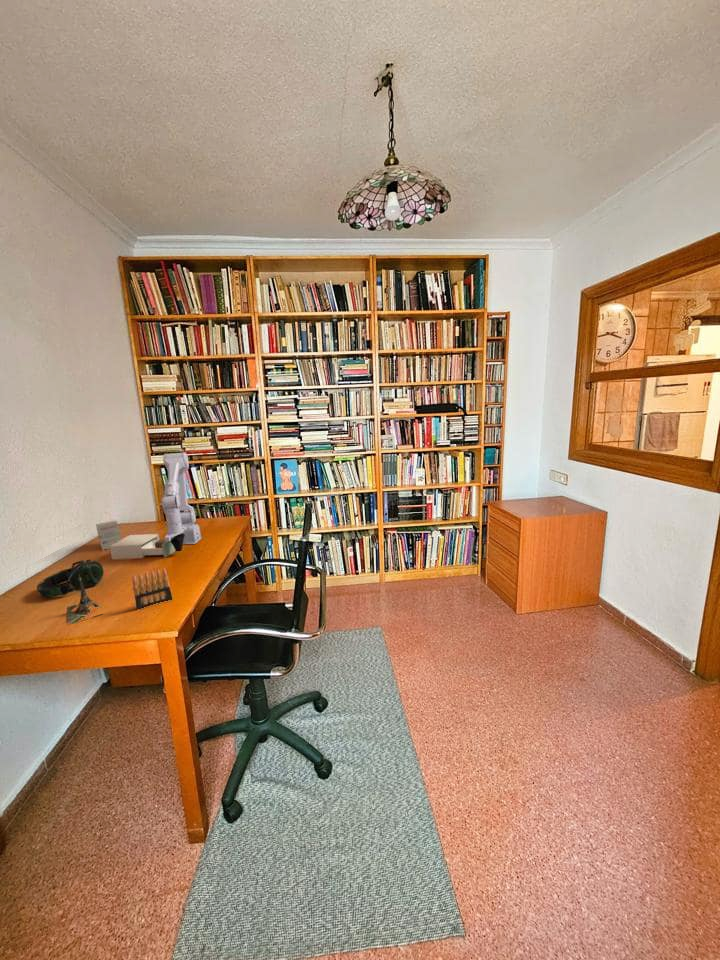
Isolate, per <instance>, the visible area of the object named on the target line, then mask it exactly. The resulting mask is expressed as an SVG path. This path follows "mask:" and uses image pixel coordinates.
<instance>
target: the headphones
mask: <svg viewBox="0 0 720 960" xmlns="http://www.w3.org/2000/svg"><path fill="white" fill-rule="evenodd" d="M104 572H105V571H104V569H103V565H102V564H101V563H100V562H99V561H97V560H91V559H87V560H86V561H84V560H79V561H75V562H73V563H72V566H71V567H69V568H67V569H66V568H65V569H62V570H60V571H58V572H55V573H53V574H51V575H49V576H48V577H45V578H44V579H43V580H41V581H40V582H39V583H38V584H37V586H36V590H37V592H38V594H39V596H40V597H42V598H45V599H50V598H56V597H61V596H65V595H67V594H69V593H72V592H81V589H80V582H79V576H80V577H81V578H82V579H81V580H82V583H83V586H84V589H85V590H87V589H88V587H89V588H92V586H93V587H94V585H98V584H99V582H101V580H103V579H102V578H103V577H104ZM75 588H77V589H78V590H75ZM86 588H87V589H86Z"/></svg>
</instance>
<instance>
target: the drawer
mask: <svg viewBox="0 0 720 960" xmlns="http://www.w3.org/2000/svg"><path fill="white" fill-rule="evenodd" d="M157 541H158V540H151V541H150V542H148V543H146V544H145V545H143V546H142V551H143V555H147V556H163V558H168V557H169V556H170V555H171V554H173V553H174V552H177V551H176V550H175V548H174V546H173V544H172V543H171V542H170V541H166V542H164V543H163V544H162V548H155V542H157Z"/></svg>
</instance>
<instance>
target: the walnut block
mask: <svg viewBox="0 0 720 960" xmlns="http://www.w3.org/2000/svg"><path fill="white" fill-rule="evenodd" d="M164 542H166V541H165V539H159V540H158V541H157V542H155V548H162V544H163V543H164Z"/></svg>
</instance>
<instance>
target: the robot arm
mask: <svg viewBox="0 0 720 960" xmlns="http://www.w3.org/2000/svg"><path fill="white" fill-rule="evenodd" d="M162 460H163V464H164V467H165V468H166V470H167V481H166V482H165V484H164V494H163V497H162V498H161V508H162V509H163V513H164V515H165V520H166V525H167V526H166V527H167V531H166V532H165V534H166V535H165V537H164V540H165V541H170V542H171V543H172V544H173V546H174V548H175V550H176V551H175V552H181V551H183V546H184V545H195V544H196V543H198V542H199V541H201V540H202V535H201V530H200V529H201V528H200V526H199V524H197V523H196V524H195V522H196V518H197V517H196V513H195V508H194V507H193V506H191V505H190V504H188V494H187V493H188V492H187V483H186V471H188V470H189V467H190V464H189V457H188V454H187V453H186V452H176V453H175V452H174V453H164V455H163V457H162Z"/></svg>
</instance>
